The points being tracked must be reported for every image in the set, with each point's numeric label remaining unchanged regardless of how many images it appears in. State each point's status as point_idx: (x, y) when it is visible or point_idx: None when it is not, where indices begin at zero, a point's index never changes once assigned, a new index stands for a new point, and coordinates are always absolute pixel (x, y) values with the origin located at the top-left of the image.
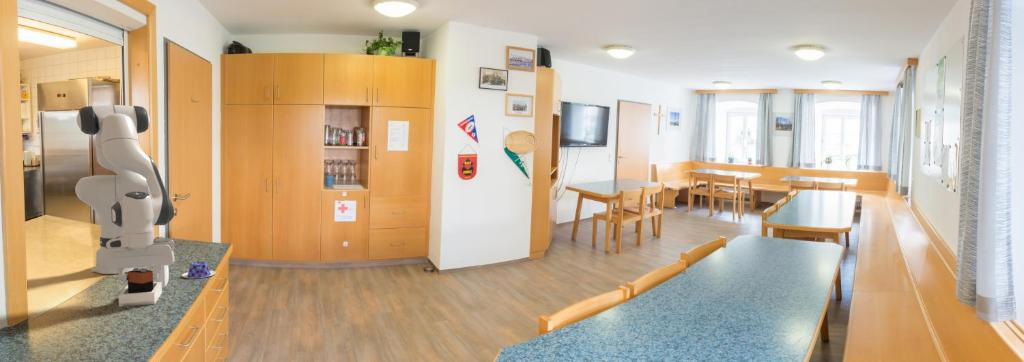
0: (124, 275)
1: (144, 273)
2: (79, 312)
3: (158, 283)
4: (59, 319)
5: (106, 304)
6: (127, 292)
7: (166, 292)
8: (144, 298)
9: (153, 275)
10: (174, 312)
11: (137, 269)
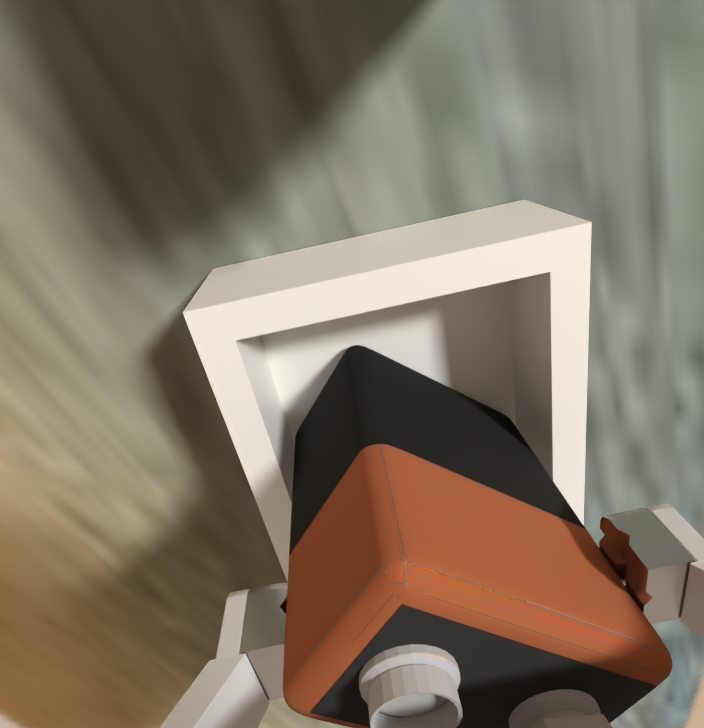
0: (260, 676)
1: None
2: (110, 627)
3: (564, 296)
4: (89, 707)
5: (177, 499)
6: (288, 463)
7: (567, 183)
8: None
9: (641, 605)
10: (674, 633)
11: (446, 715)
